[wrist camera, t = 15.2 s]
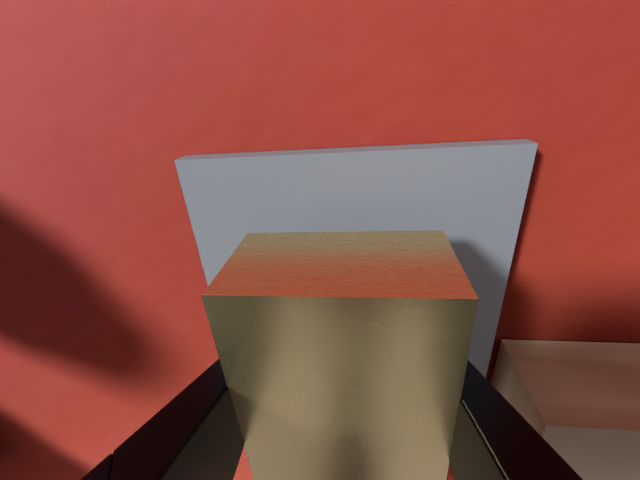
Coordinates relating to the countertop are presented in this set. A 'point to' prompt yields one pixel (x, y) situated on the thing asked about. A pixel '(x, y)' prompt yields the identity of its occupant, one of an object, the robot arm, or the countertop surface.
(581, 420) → the cream rectangular block
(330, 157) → the rubber mat
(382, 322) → the tan wooden block
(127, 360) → the countertop surface
